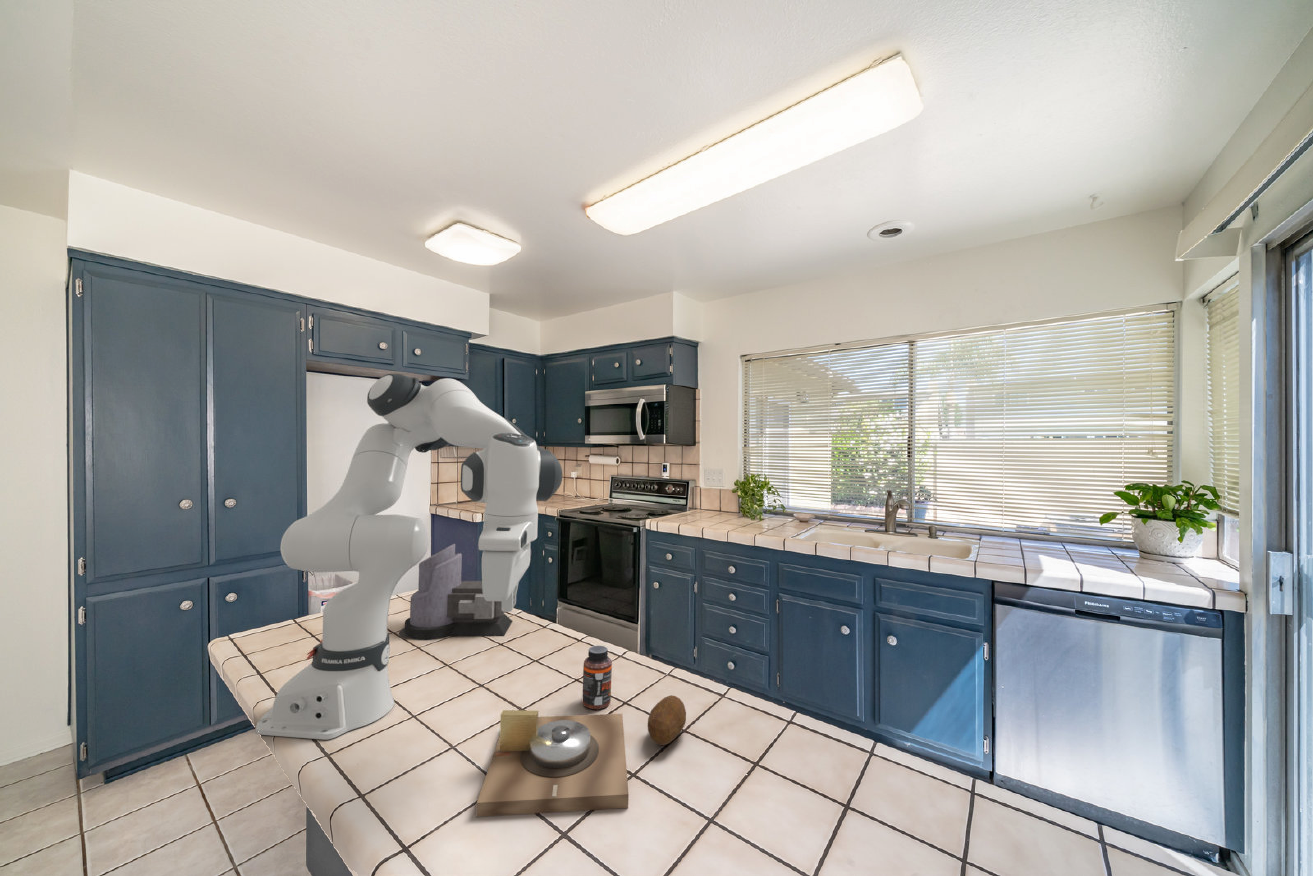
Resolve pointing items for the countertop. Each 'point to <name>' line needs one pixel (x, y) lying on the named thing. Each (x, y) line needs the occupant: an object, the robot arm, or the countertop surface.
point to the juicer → (451, 603)
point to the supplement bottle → (597, 678)
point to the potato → (666, 720)
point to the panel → (560, 775)
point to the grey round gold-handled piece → (544, 738)
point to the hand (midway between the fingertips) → (508, 608)
